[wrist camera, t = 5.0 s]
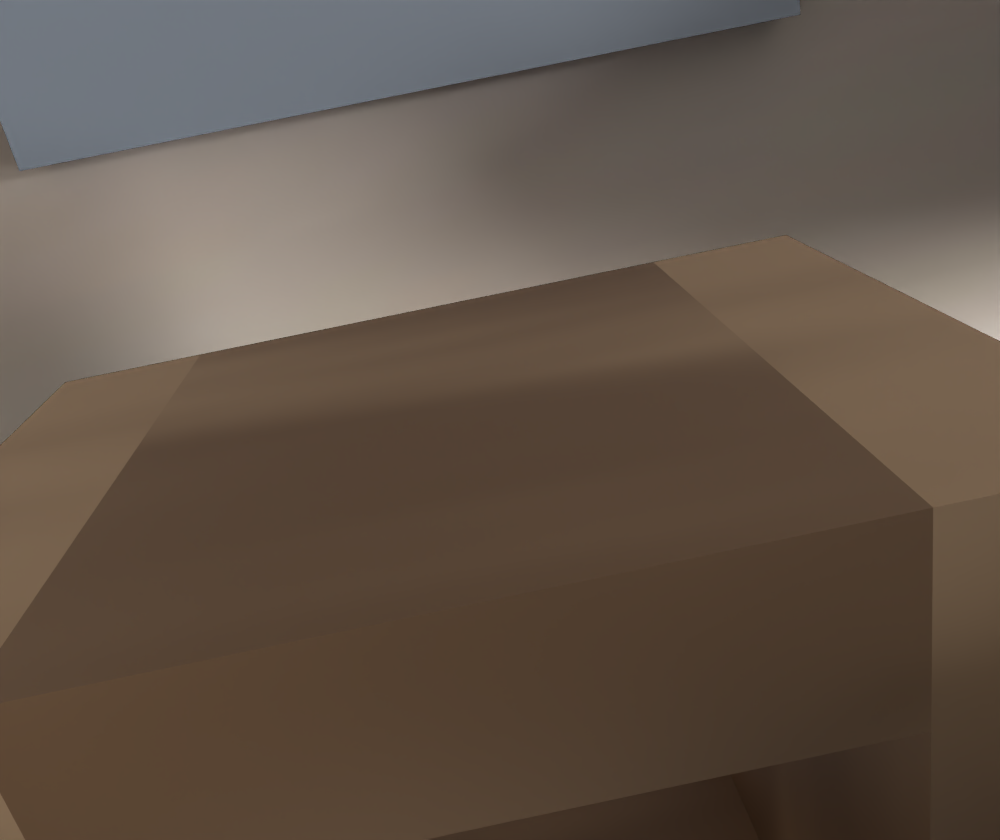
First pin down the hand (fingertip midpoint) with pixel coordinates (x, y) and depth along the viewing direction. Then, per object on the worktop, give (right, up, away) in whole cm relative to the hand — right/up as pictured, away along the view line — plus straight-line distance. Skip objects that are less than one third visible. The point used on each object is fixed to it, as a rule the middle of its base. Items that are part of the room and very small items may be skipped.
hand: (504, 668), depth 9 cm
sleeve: (0, 0, +1) cm, 1 cm away
